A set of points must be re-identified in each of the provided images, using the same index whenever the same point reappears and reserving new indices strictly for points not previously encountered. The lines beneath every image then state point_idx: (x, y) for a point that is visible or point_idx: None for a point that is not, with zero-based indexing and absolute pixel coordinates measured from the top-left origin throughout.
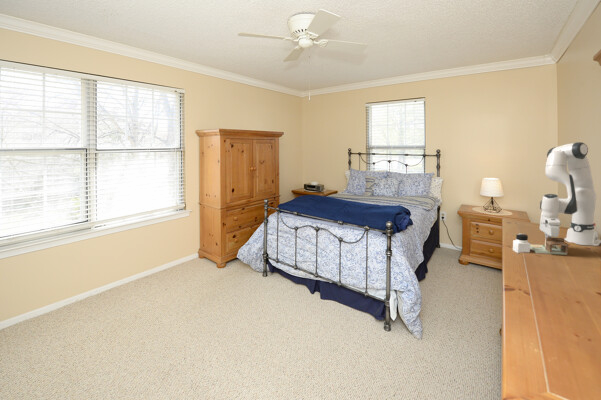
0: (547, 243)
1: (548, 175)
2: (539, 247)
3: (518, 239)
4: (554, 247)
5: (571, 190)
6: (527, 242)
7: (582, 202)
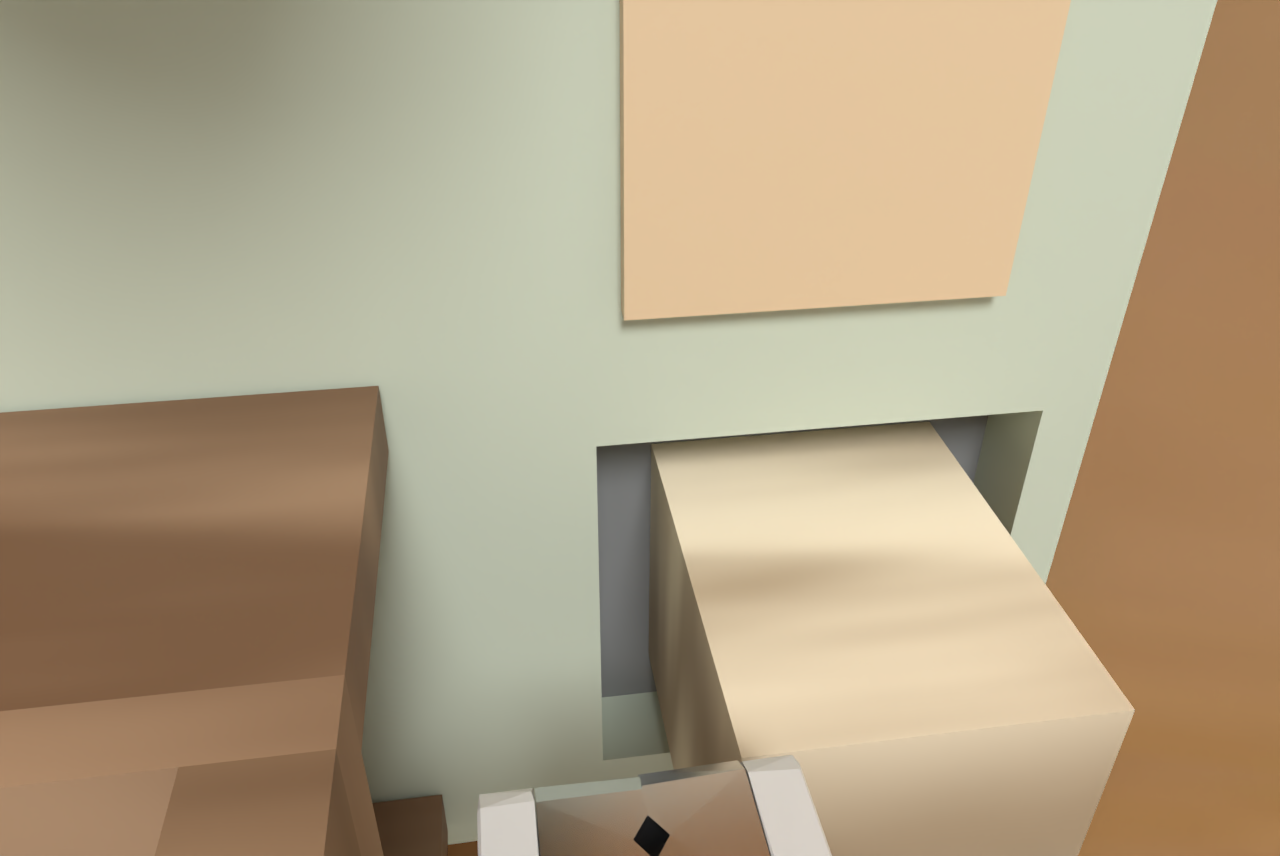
0: (12, 681)
1: None
2: (625, 206)
3: None
4: (668, 702)
5: None
6: None
7: None
